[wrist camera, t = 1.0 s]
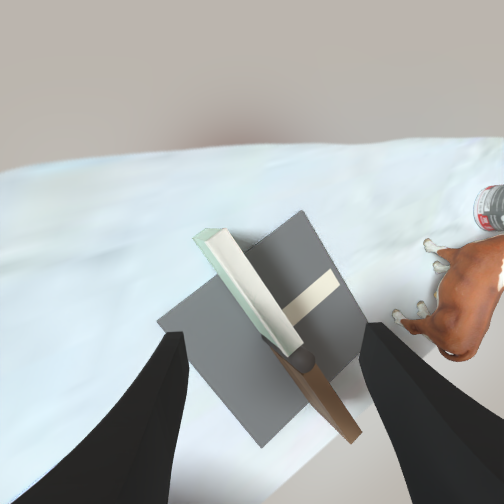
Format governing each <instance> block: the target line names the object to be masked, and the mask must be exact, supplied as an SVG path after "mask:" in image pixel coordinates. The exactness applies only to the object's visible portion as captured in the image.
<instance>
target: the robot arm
mask: <svg viewBox="0 0 504 504" xmlns="http://www.w3.org/2000/svg"><path fill="white" fill-rule="evenodd" d="M359 362H360V366H361V369H362V373H363V376H364V379H365V382H366V385H367V388H368V390H369V392H370V395H371V397H372V399H373V401H374V404H375V406H376V408H377V410H378V413H379V415H380V417H381V419H382V422H383V424H384V426H385V429H386V431H387V433H388V435H389V437H390V440H391V442H392V445H393V447H394V450H395V452H396V455H397V458H398V461H399V463H400V467H401V469H402V472H403V475H404V478H405V481H406V484H407V488H408V491H409V494H410V497H411V500H412V503H413V504H504V419H502V418H500V417H499V416H497V415H496V414H494V413H493V412H491V411H490V410H488V409H486V408H485V407H484V406H482V405H480V404H479V403H478V402H477V401H475V400H474V399H472V398H471V397H469V396H468V395H467V394H465V393H464V392H462V391H461V390H460V389H458V388H456V386H454V385H453V384H452V383H451V382H449V381H448V380H447V379H445V378H444V377H443V376H442V375H440V374H439V373H438V372H437V371H436V370H434V369H433V368H432V367H431V366H430V365H428V364H427V363H426V362H425V361H424V360H423V359H421V358H420V357H419V356H418V355H417V354H416V353H415V352H413V351H412V350H411V349H410V348H409V347H408V346H407V345H406V344H405V343H404V342H402V341H401V340H400V339H399V338H398V337H397V336H396V335H395V334H394V333H393V332H392V331H391V330H390V329H388V328H387V327H386V326H385V325H384V324H383V323H382V322H378V323H366V327H365V332H364V336H363V341H362V346H361V351H360V356H359ZM188 377H189V363H188V357H187V351H186V345H185V339H184V333H183V331H178V332H167V333H166V334H165V335H164V337H163V338H162V340H161V342H160V343H159V345H158V347H157V348H156V350H155V351H154V353H153V354H152V356H151V358H150V359H149V361H148V362H147V363H146V365H145V366H144V368H143V369H142V371H141V372H140V373H139V375H138V376H137V378H136V379H135V380H134V382H133V383H132V384H131V386H130V387H129V388H128V389H127V391H126V392H125V393H124V395H123V396H122V397H121V398H120V400H119V401H118V402H117V403H116V404H115V406H114V407H113V408H112V409H111V410H110V411H109V413H108V414H107V415H106V416H105V417H104V418H103V419H102V420H101V422H100V423H99V424H98V425H97V426H96V427H95V428H94V429H93V430H92V431H91V432H90V433H89V434H88V435H87V436H86V437H85V438H84V439H83V440H82V441H81V442H80V443H79V444H78V445H77V446H76V447H75V448H74V449H73V450H72V451H71V452H70V453H69V454H68V455H67V456H66V457H65V458H63V459H62V460H61V461H60V462H59V463H58V464H57V465H55V466H54V467H52V468H51V469H50V470H49V471H47V472H46V473H45V474H44V475H43V476H41V477H40V478H39V479H38V480H36V481H35V482H34V483H33V484H32V485H30V486H29V487H28V488H27V489H26V490H24V491H23V492H22V493H21V494H19V495H18V496H17V497H16V498H15V499H13V500H12V501H11V502H10V503H9V504H168V495H169V487H170V479H171V470H172V464H173V458H174V452H175V448H176V443H177V438H178V433H179V429H180V424H181V419H182V415H183V410H184V405H185V400H186V395H187V387H188Z"/></svg>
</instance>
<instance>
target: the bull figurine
mask: <svg viewBox="0 0 504 504" xmlns="http://www.w3.org/2000/svg"><path fill="white" fill-rule="evenodd" d="M423 244H424V246H425V249H426V252H435V253H437V254H438V255H439V256H440V257H443V258H444V259H446V260H447V261H448V262H449V263H450V265H448V266H446V265H442V264H441V263H440V262H439V261H435V262H434V263H433V266H434V270H435V271H436V273H437V274H440V273H442V272H446V274H445V275H444V277H443V278H442V280H441V282H440V283H439V286H438V289H437V292H435V294H434V297H435V298H436V299H437V308H436V310H435V312H434V313H433V314H432V315H431V314H430V313H429V312H428V310H427V307H426V305H425V304H424V302H423V301H420V302H418V304H417V308H418V309H419V312H418V313H417V314H418V315H419V316H420V317H421V318H423V319H418V320H410V319H407V318H405V317H404V316H403V315H402V313H401V312H400V311H399V310H397V309H395V310H394V311H393V312H392V316H393V317H394V318H395V319H396V320H395V323H396V324H399V325H401V326H403V327H405V328H406V329H407V330H408V331H409V332H410V333H411V334H413V335H416V334H423V335H424V336H425V337H426V338H427V339H429V340H430V341H431V342H433V343H434V344H436V345H437V347H438V349H439V351H440V353H441V354H442V355H443V356H444V357H445V358H447V359H448V360H451V361H455V362H462V361H466V360H469V359H471V358H472V357H473V356H474V355H475V354H476V353H477V350H478V348H479V346H480V344H481V341H482V339H483V337H484V335H485V334H486V332H487V331H488V329H489V326H490V321H491V317H492V315H493V312H494V309H495V307H496V305H497V303H498V301H499V299H500V296H501V294H502V292H503V291H504V233H502V234H499V235H496V236H493V237H490V238H487V239H484V240H478V241H474V242H472V243H468V244H466V245H465V246H463V247H462V248H460V249H451V248H447V247H444V246H437V245H436V244H434V243H433V242H432V241H431V240H430V239H429V238H427V239H425V240H424V243H423ZM445 351H447V352H450V353H453V354H454V355H449V354H448V353H446V352H445Z"/></svg>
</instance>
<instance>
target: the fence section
mask: <svg viewBox="0 0 504 504" xmlns="http://www.w3.org/2000/svg"><path fill="white" fill-rule="evenodd" d="M261 337H262V339H263V341H265V342H266V343H267V344H268V345H269V346H270V348H271V350H272V351H273V353H274V354H275V355H276V357H277V358H278V359H279V361H280V362H281V364H282V365H283V366H284V368H285V369H286V371H287V372H288V373H289V375H290V376H291V378H292V379H293V380H294V382H295V383H296V385H297V386H298V387H299V389H300V390H301V392H302V393H303V394H304V396H305V397H306V399H307V400H308V401H309V403H310V404H311V405H312V406H313V407H314V408H315V409H316V410H317V411H318V412H319V413H320V414H321V415H322V416H323V417H324V418H325V419H326V420H327V421H328V422H329V423H330V424H331V425H332V426H333V427H334V428H335V429H336V430H337V431H338V432H339V433H340V434H341V435H342V436H343V437H344V438H345V439H346V440H347V441H348V442H349V443H350V444H352V443H353V442H354V441H355V440H356V439H357V438H358V436H359V435H360V434H361V433H362V431H361V429H360V428H359V427H358V425H357V423H356V422H355V420H354V419H353V418H352V416H351V415H350V413H349V412H348V410H347V409H346V407H345V406H344V404H343V403H342V401H341V400H340V398H339V397H338V395H337V394H336V392H335V391H334V389H333V388H332V386H331V385H330V383H329V382H328V381H327V379H326V378H325V376H324V375H323V373H322V372H321V370H320V369H319V367H318V366H317V364H316V363H315V356H314V355H313V354H312V353H311V352H310V351H308V350H307V349H305V348H304V347H303V346H300V347H299V348H297V349H296V350H295V351H294V352H293V353H292V354H291V355H290V356H289V357H287V356H286V355H284V354H283V352H282V351H281V350H280V349H279V348H278V347H277V346H276V345H275V344H273V343H272V342H271V341H270V340H269V339H267V338H266V337H265V336H264V335H262V334H261Z"/></svg>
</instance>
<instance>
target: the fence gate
mask: <svg viewBox="0 0 504 504" xmlns="http://www.w3.org/2000/svg"><path fill="white" fill-rule="evenodd" d="M192 239H193V240H194V242H195V243H196V244H197V246H198V247H199V249H200V250H201V251H202V253H203V254H204V256H205V257H206V258H207V260H208V261H209V262H210V264H211V265H212V267H213V268H214V269H215V271H216V272H217V274H218V275H219V276H220V278H221V279H222V281H223V282H224V283H225V285H226V286H227V288H228V289H229V290H230V292H231V293H232V295H233V296H234V297H235V299H236V300H237V302H238V303H239V304H240V306H241V307H242V309H243V310H244V311H245V313H246V314H247V315H248V317H249V318H250V320H251V321H252V322H253V324H254V325H255V327H256V328H257V329H258V331H259V332H260V333H261V334H262V335H264V336H265V337H266V338H267V339H269V340H270V341H271V342H272V343H273V344H275V345H276V346H277V347H278V348H279V349H280V350H281V351H282V352H283V354H284V355H286V356H287V357H289V356H290V355H291V354H292V353H293V352H294V351H295V350H296V349H297V348H299V347H300V346H301V345H302V344H303V343H304V342H303V341H302V339H301V338H300V336H299V335H298V333H297V332H296V330H295V329H294V328H293V326H292V325H291V323H290V322H289V320H288V319H287V317H286V316H285V314H284V313H283V311H282V310H281V308H280V307H279V305H278V304H277V302H276V301H275V299H274V298H273V296H272V295H271V293H270V292H269V290H268V289H267V287H266V286H265V284H264V283H263V282H262V280H261V279H260V277H259V276H258V274H257V273H256V271H255V270H254V268H253V267H252V265H251V264H250V262H249V261H248V259H247V258H246V256H245V255H244V253H243V252H242V250H241V249H240V247H239V246H238V244H237V243H236V241H235V240H234V238H233V237H232V236H231V234H230V233H229V231H228V230H227V228H223V229H210V228H205V229H204V230H203V231H201V232H200V233H198V234H197V235H196V236H194V237H193V238H192Z"/></svg>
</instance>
